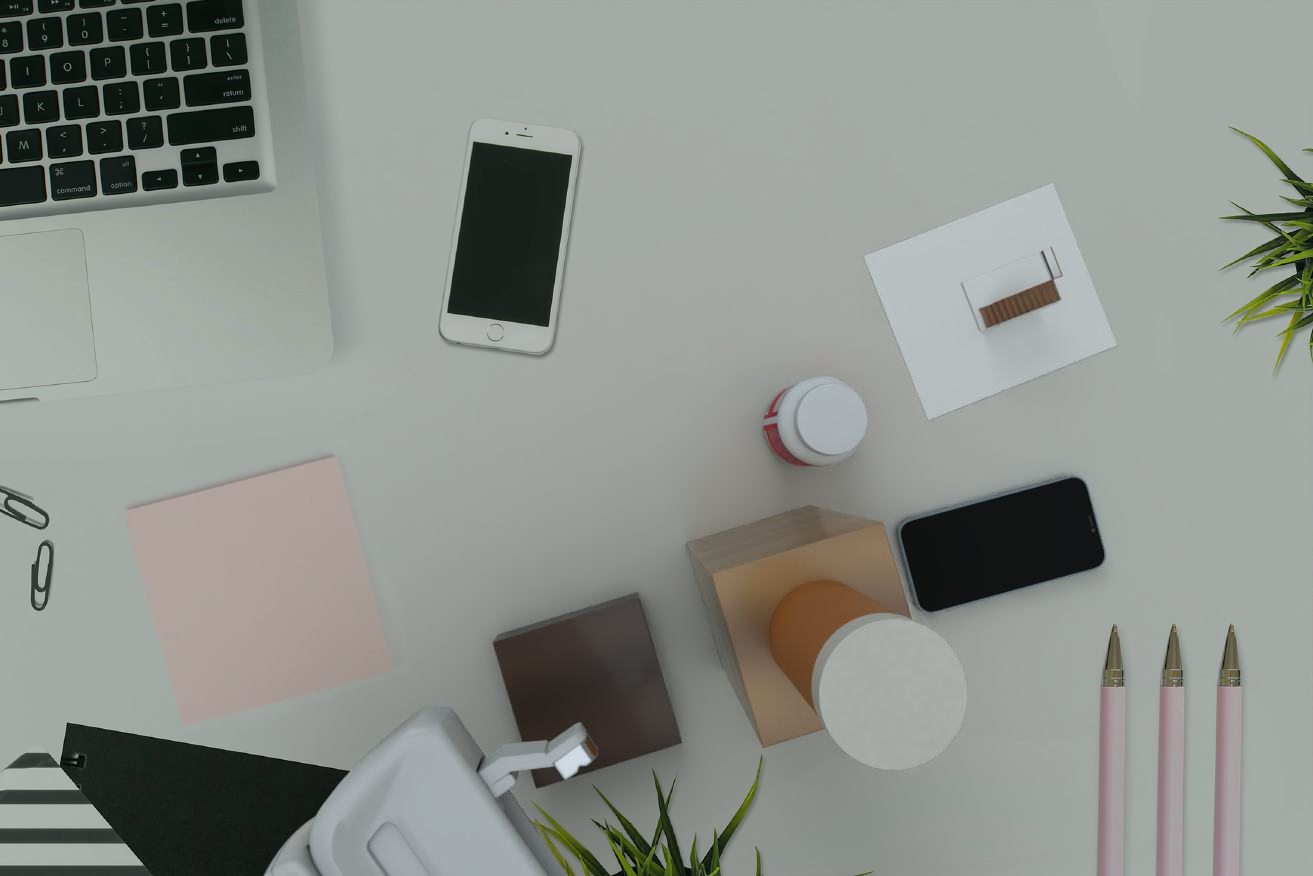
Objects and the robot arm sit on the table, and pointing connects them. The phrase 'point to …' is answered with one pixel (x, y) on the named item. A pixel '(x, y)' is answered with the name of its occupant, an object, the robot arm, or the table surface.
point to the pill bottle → (815, 422)
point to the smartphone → (1001, 544)
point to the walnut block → (589, 683)
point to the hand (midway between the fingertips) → (649, 823)
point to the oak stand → (757, 579)
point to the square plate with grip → (990, 301)
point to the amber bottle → (870, 674)
